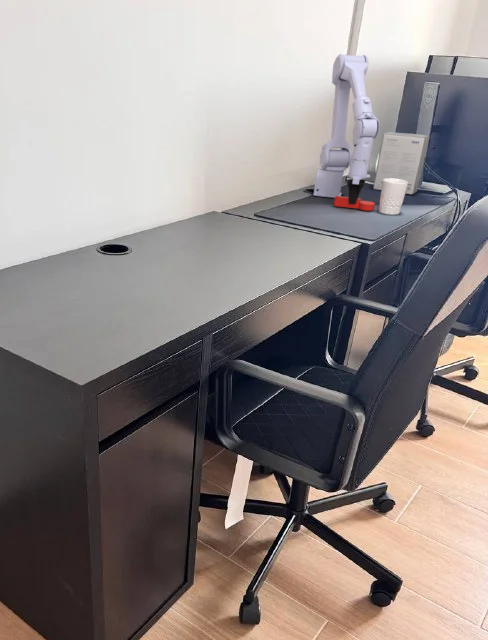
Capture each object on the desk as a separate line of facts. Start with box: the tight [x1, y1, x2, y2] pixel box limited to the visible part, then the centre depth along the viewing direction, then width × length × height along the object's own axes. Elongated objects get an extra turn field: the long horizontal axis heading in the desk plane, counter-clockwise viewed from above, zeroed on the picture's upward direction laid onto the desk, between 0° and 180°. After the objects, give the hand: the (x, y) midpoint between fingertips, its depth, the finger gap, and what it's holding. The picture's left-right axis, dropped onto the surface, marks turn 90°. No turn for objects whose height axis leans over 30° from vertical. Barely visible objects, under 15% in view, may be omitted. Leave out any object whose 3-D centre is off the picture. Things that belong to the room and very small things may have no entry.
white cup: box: [378, 178, 408, 216], centre depth 189 cm, size 8×8×10 cm
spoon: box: [333, 195, 376, 212], centre depth 193 cm, size 13×5×3 cm, turn 73°
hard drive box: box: [372, 131, 430, 195], centre depth 217 cm, size 16×8×20 cm, turn 58°
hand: (352, 203), depth 194 cm, fingers closed on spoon, 2 cm apart
